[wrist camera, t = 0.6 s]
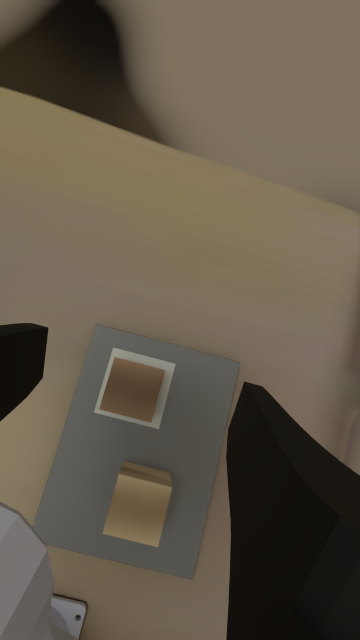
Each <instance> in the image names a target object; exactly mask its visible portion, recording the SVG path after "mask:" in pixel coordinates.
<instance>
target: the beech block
mask: <svg viewBox="0 0 360 640" xmlns="http://www.w3.org/2000/svg"><path fill="white" fill-rule="evenodd" d="M171 491H172V482H171V475H170V472H166V471H162V470H158V469H154V468H150V467H146V466H142V465H138V464H134V463H130V462H126V461H123V464H122V467H121V469H120V472H119V475H118V479H117V482H116V486H115V490H114V493H113V497H112V501H111V504H110V508H109V512H108V515H107V519H106V523H105V526H104V530H103V534H106V535H110V536H114V537H118V538H122V539H126V540H130V541H134V542H138V543H142V544H147V545H151V546H155V547H158V545H159V541H160V536H161V532H162V528H163V524H164V520H165V516H166V511H167V507H168V503H169V499H170V495H171Z"/></svg>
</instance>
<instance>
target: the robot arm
mask: <svg viewBox="0 0 360 640" xmlns="http://www.w3.org/2000/svg"><path fill="white" fill-rule="evenodd" d="M47 335H48V328H47V327H44V326H40V325H36V324H33V323H19V324H8V325H0V421H1V420H2V419H3V418H5V417H6V416H7V415H8V414H9V413H10V412H11V411H12V410H13V409H15V408H16V407H17V406H18V405H19V404H20V403H21V402H22V401H23V400H24V399H25V398H26V397H27V396H28V395H29V394H30V393H31V392H32V390H33V389H34V388H35V387H36V386H37V384H38V383H39V382H40V381H41V379H42V378H43V371H44V362H45V353H46V344H47ZM226 459H227V475H228V489H229V503H230V517H231V554H230V582H229V604H228V623H227V640H360V475H358V474H357V473H355V472H354V471H352V470H351V469H350V468H348V467H347V466H346V465H344V464H343V463H342V462H340V461H339V460H338V459H337V458H336V457H334V456H333V455H332V454H331V453H329V452H328V451H327V450H326V449H324V448H323V447H322V446H321V445H320V444H319V443H318V442H316V441H315V440H314V439H313V438H312V437H311V436H310V435H309V434H308V433H307V432H306V431H305V430H304V429H303V428H301V427H300V426H299V425H298V423H297V422H296V421H295V420H294V419H293V418H292V417H291V416H290V415H289V414H288V413H287V412H286V411H285V410H284V409H283V408H282V407H281V406H280V404H279V403H278V402H277V401H276V400H275V399H274V398H273V397H272V396H271V395H270V394H269V393H268V391H267V390H265V389H264V388H263V387H262V386H259V385H255V384H252V383H248V382H244V384H243V387H242V390H241V393H240V396H239V399H238V402H237V405H236V408H235V411H234V414H233V417H232V420H231V423H230V426H229V429H228V438H227V453H226ZM53 588H54V581H53V576H52V571H51V565H50V560H49V555H48V550H47V547H46V544H45V542H44V541H43V539H42V538H41V537H40V536H39V535H38V533H37V532H36V531H35V530H34V529H33V527H32V526H31V525H30V524H29V523H28V521H27V520H26V519H25V518H24V517H23V516H22V514H21V513H20V512H19V511H17V510H15V509H13V508H11V507H9V506H7V505H6V504H4V503H2V502H0V640H79V639H78V638H79V635H80V631H81V627H82V624H83V620H84V616H85V613H86V605H85V603H83V602H80V601H75V600H71V599H67V598H63V597H59V596H54V595H52V594H53ZM78 614H79V615H80V616H81V617H80V618H77V617H76V615H78Z"/></svg>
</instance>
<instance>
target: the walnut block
mask: <svg viewBox="0 0 360 640" xmlns="http://www.w3.org/2000/svg"><path fill="white" fill-rule="evenodd" d="M164 373H165V370H163V369H159V368H155V367H151V366H147V365H143V364H140V363H136V362H132V361H128V360H124V359H121V358H117V357H114V360H113V364H112V367H111V371H110V374H109V377H108V381H107V384H106V388H105V391H104V394H103V398H102V401H101V404H100V408H99V410H103V411H107V412H111V413H115V414H119V415H123V416H127V417H131V418H134V419H138V420H142V421H146V422H150V423H151V422H152V418H153V415H154V411H155V407H156V403H157V399H158V395H159V392H160V388H161V384H162V380H163V376H164Z"/></svg>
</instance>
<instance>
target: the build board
mask: <svg viewBox="0 0 360 640" xmlns="http://www.w3.org/2000/svg"><path fill="white" fill-rule="evenodd" d="M114 357H117V358H121V359H124V360H128V361H132V362H136V363H140V364H143V365H147V366H151V367H155V368H159V369H163V370H165V373H164V376H163V380H162V384H161V388H160V392H159V395H158V399H157V403H156V407H155V411H154V415H153V418H152V422H151V423H150V422H146V421H142V420H138V419H134V418H131V417H127V416H123V415H119V414H115V413H111V412H107V411H103V410H99V408H100V404H101V401H102V398H103V394H104V391H105V388H106V384H107V381H108V377H109V374H110V371H111V367H112V364H113V360H114ZM239 365H240V362H237V361H233V360H229V359H225V358H222V357H218V356H214V355H210V354H206V353H203V352H199V351H195V350H191V349H188V348H184V347H180V346H176V345H172V344H169V343H165V342H161V341H157V340H154V339H150V338H146V337H142V336H138V335H135V334H131V333H127V332H123V331H120V330H116V329H112V328H108V327H104V326H101V325H97V324H96V326H95V330H94V333H93V336H92V339H91V342H90V346H89V349H88V352H87V355H86V358H85V362H84V365H83V368H82V371H81V374H80V378H79V381H78V384H77V387H76V390H75V394H74V397H73V400H72V403H71V406H70V410H69V413H68V416H67V419H66V422H65V426H64V429H63V432H62V435H61V438H60V442H59V445H58V448H57V451H56V454H55V458H54V461H53V464H52V467H51V470H50V474H49V477H48V480H47V483H46V486H45V490H44V493H43V496H42V499H41V502H40V506H39V509H38V512H37V515H36V518H35V522H34V525H33V529H34V530H35V531H36V532H37V533H38V535H39V536H40V537H41V538H42V539H43V541H44V542H45V544H46V545H51V546H55V547H59V548H63V549H67V550H71V551H75V552H79V553H84V554H88V555H92V556H96V557H100V558H104V559H108V560H112V561H117V562H121V563H125V564H129V565H133V566H137V567H141V568H145V569H149V570H154V571H158V572H162V573H166V574H170V575H174V576H178V577H182V578H187V579H191V580H193V575H194V571H195V566H196V562H197V557H198V553H199V548H200V543H201V539H202V534H203V530H204V525H205V520H206V516H207V511H208V507H209V502H210V498H211V493H212V488H213V484H214V479H215V475H216V470H217V465H218V461H219V456H220V452H221V447H222V443H223V438H224V433H225V429H226V424H227V420H228V415H229V410H230V406H231V401H232V397H233V392H234V388H235V383H236V378H237V374H238V369H239ZM123 461H126V462H130V463H134V464H138V465H142V466H146V467H150V468H154V469H158V470H162V471H166V472H170V475H171V482H172V491H171V495H170V499H169V503H168V507H167V511H166V516H165V520H164V524H163V528H162V532H161V536H160V541H159V545H158V547H155V546H151V545H147V544H142V543H138V542H134V541H130V540H126V539H122V538H118V537H114V536H110V535H106V534H103V530H104V526H105V523H106V519H107V515H108V512H109V508H110V504H111V501H112V497H113V493H114V490H115V486H116V482H117V479H118V475H119V472H120V469H121V467H122V464H123Z"/></svg>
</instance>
